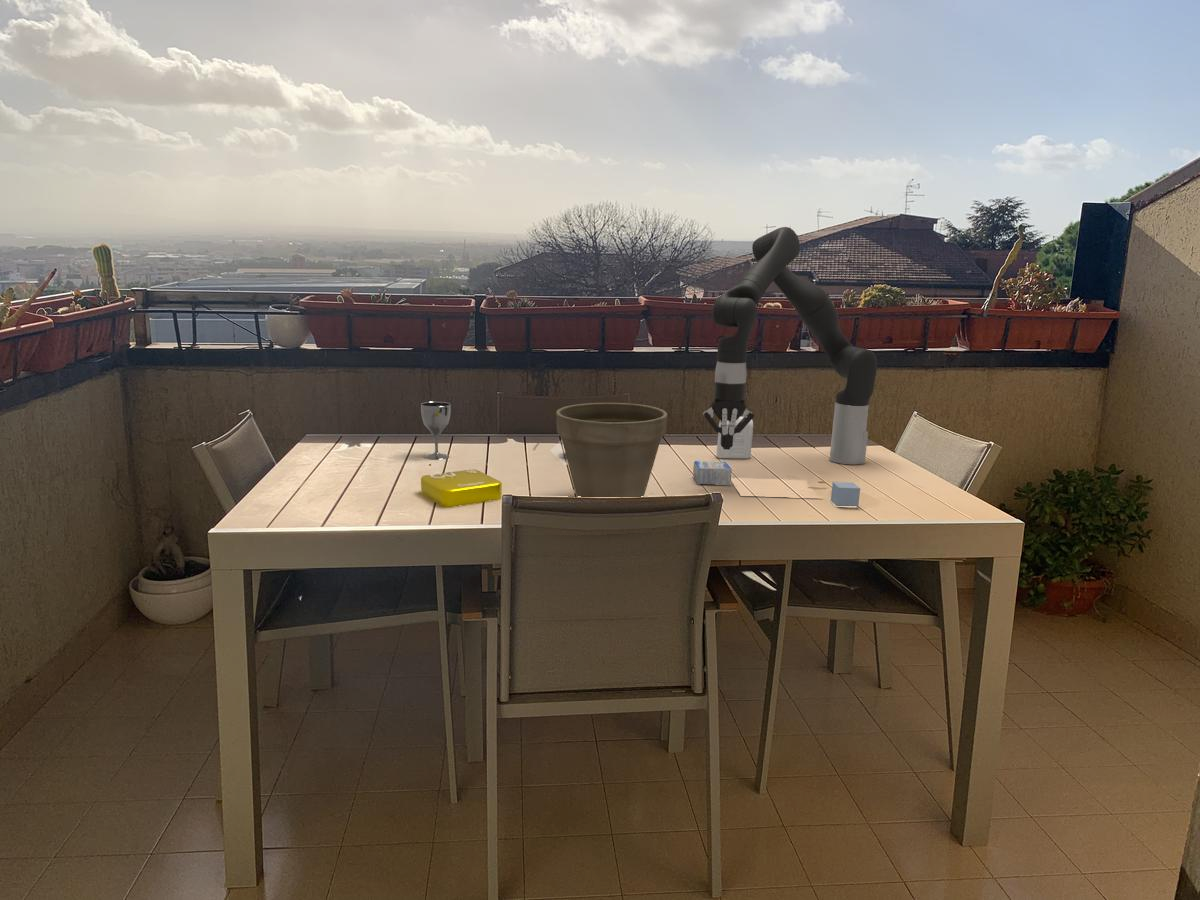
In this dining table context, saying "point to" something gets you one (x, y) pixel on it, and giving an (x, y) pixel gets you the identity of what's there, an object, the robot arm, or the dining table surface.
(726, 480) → the medicine box
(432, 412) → the wine glass
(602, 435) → the plant pot
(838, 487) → the slate-blue cube
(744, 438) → the photo printer
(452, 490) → the element tile
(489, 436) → the dining table surface
